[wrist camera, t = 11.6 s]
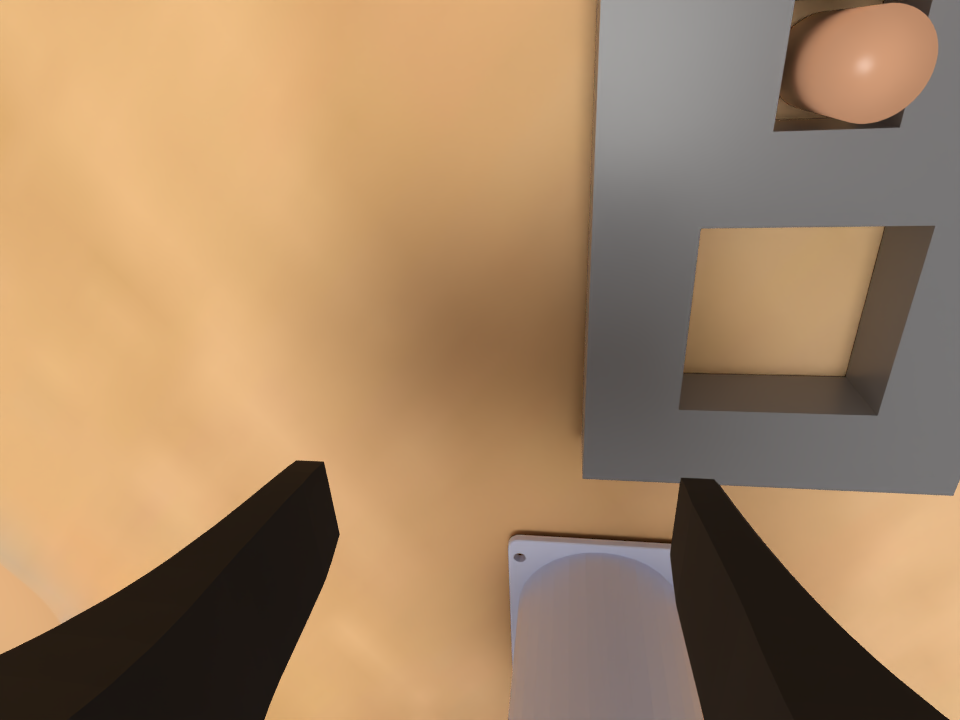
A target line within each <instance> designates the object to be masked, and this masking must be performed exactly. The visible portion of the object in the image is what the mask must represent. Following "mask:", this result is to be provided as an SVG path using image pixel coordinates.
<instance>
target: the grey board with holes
mask: <svg viewBox="0 0 960 720" xmlns="http://www.w3.org/2000/svg"><path fill="white" fill-rule="evenodd" d="M795 1H797V0H597V15H596V43H595V71H594V100H593V128H592V156H591V185H590V213H589V241H588V270H587V298H586V326H585V355H584V383H583V411H582V474H583V479H599V480H621V481H643V482H665V483H680V480H681V478H703V479H714V480H715V481H716V482H717V483H718V484H719V485H731V486H752V487H774V488H796V489H818V490H840V491H862V492H884V493H905V494H927V495H949V496H953V495H954V492H955V490H956V488H957V485H958V483H959V480H960V0H884V4H887V3H902V4H907V5H910V6H913V7H915V8H917V9H919V10H921V11H922V12H923V13H924V14H926V16H927V17H928V18H929V19H930V20H931V22H932V24H933V25H934V28H935V30H936V33H937V38H938V56H937V61H936V65H935V68H934V71H933V73H932V75H931V77H930V79H929V81H928V83H927V84H926V86H925V88H924V89H923V90H922V92H921V93H920V94H919V95H918V96H917V97H916V99H915V100H914V101H913V102H911V103H910V104H909V105H908V106H907V107H905V108H904V109H903V110H901V111H900V112H898V113H897V114H895V115H893V116H891V117H889V118H887V119H884V120H881V121H878V122H874V123H867V124H855V123H849V122H846V121H842V120H839V119H835V118H815V119H787V120H775V118H776V112H777V106H778V100H779V94H780V88H781V82H782V76H783V70H784V64H785V58H786V51H787V45H788V39H789V33H790V27H791V21H792V15H793V9H794V3H795ZM860 226H885V230H884V234H883V238H882V241H881V245H880V249H879V253H878V256H877V260H876V264H875V268H874V271H873V275H872V279H871V283H870V287H869V290H868V294H867V298H866V302H865V305H864V309H863V313H862V317H861V320H860V324H859V328H858V332H857V335H856V339H855V343H854V347H853V351H852V354H851V358H850V362H849V366H848V369H847V373H846V377H834V376H786V375H738V374H690V373H683V370H684V361H685V353H686V345H687V337H688V329H689V321H690V312H691V304H692V296H693V288H694V280H695V271H696V263H697V255H698V247H699V239H700V231H701V228H776V227H860Z"/></svg>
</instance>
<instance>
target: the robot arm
mask: <svg viewBox="0 0 960 720" xmlns="http://www.w3.org/2000/svg"><path fill="white" fill-rule="evenodd" d="M339 535H340V534H339V529H338V525H337V520H336V515H335V511H334V506H333V502H332V497H331V492H330V488H329V483H328V479H327V474H326V469H325V465H324V462H319V461H297V460H296V461H295V462H294V463H292V464H291V465H290V466H288V467H287V468H286V469H284V470H283V471H282V472H281V473H279V474H278V475H277V476H276V477H274V478H273V479H272V480H271V481H270V482H268V483H267V484H266V485H265V486H263V487H262V488H261V489H260V490H259V491H257V492H256V493H255V494H254V495H252V496H251V497H250V498H249V499H247V500H246V501H245V502H244V503H242V504H241V505H240V506H239V507H237V508H236V509H235V510H234V511H232V512H231V513H230V514H229V515H227V516H226V517H225V518H224V519H222V520H221V521H220V522H219V523H217V524H216V525H215V526H213V527H212V528H211V529H209V530H208V531H207V532H205V533H204V534H203V535H201V536H200V537H198V538H197V539H196V540H194V541H193V542H192V543H190V544H189V545H188V546H186V547H185V548H184V549H182V550H181V551H179V552H178V553H177V554H175V555H174V556H173V557H171V558H170V559H168V560H167V561H165V562H164V563H163V564H161V565H160V566H158V567H157V568H155V569H154V570H152V571H151V572H149V573H148V574H146V575H144V576H143V577H141V578H140V579H138V580H136V581H135V582H133V583H132V584H130V585H129V586H127V587H125V588H124V589H122V590H121V591H119V592H117V593H116V594H114V595H112V596H111V597H109V598H107V599H105V600H104V601H102V602H100V603H98V604H96V605H95V606H93V607H91V608H89V609H87V610H86V611H84V612H82V613H80V614H78V615H77V616H75V617H73V618H71V619H69V620H68V621H66V622H64V623H62V624H60V625H59V626H57V627H55V628H54V629H51V630H49V631H47V632H45V633H43V634H41V635H40V636H38V637H35V638H33V639H32V640H29V641H28V642H25V643H23V644H21V645H19V646H18V647H16V648H13V649H11V650H9V651H7V652H5V653H3V654H0V720H264V719H265V716H266V714H267V711H268V708H269V705H270V703H271V700H272V698H273V695H274V693H275V690H276V688H277V686H278V683H279V681H280V679H281V676H282V674H283V672H284V670H285V668H286V666H287V663H288V661H289V659H290V657H291V655H292V653H293V650H294V648H295V646H296V644H297V642H298V640H299V637H300V635H301V633H302V631H303V629H304V627H305V624H306V622H307V620H308V618H309V616H310V614H311V611H312V609H313V607H314V605H315V602H316V600H317V598H318V596H319V594H320V591H321V589H322V587H323V585H324V582H325V580H326V577H327V574H328V571H329V568H330V565H331V562H332V559H333V555H334V552H335V548H336V545H337V542H338V538H339ZM517 553H521V554H523V555H517ZM508 560H509V588H510V615H511V642H512V669H513V670H512V681H511V692H510V702H509V713H508V720H703V717H704V720H949V719H948V718H946V717H945V716H944V715H943V714H941V713H940V712H939V711H938V710H936V709H935V708H934V707H933V706H932V705H930V704H929V703H928V702H927V701H925V700H924V699H923V698H922V697H920V696H919V695H918V694H917V693H916V692H914V691H913V690H912V689H911V688H909V687H908V686H907V685H906V684H904V683H903V682H902V681H901V680H900V679H898V678H897V677H896V676H895V675H894V674H892V673H891V672H890V671H889V670H888V669H887V668H886V667H884V666H883V665H882V664H881V663H880V662H879V661H877V660H876V659H875V658H874V657H873V656H872V655H871V654H870V653H869V652H868V651H866V650H865V649H864V648H863V647H862V646H861V645H860V644H859V643H858V642H857V641H856V640H855V639H854V638H852V637H851V636H850V635H849V634H848V633H847V632H846V631H845V630H844V629H843V628H842V627H841V626H840V625H839V624H838V623H837V622H836V621H835V620H834V619H833V618H832V617H831V616H830V615H829V614H828V613H827V612H826V611H825V610H824V609H823V608H822V607H821V606H820V605H819V604H818V603H817V602H816V601H815V600H814V598H813V597H812V596H811V595H810V594H809V593H808V592H807V591H806V590H805V589H804V588H803V587H802V586H801V585H800V584H799V582H798V581H797V580H796V579H795V578H794V577H793V576H792V575H791V573H790V572H789V571H788V570H787V569H786V568H785V567H784V565H783V564H782V563H781V562H780V561H779V560H778V558H777V557H776V556H775V555H774V554H773V553H772V551H771V550H770V549H769V548H768V547H767V546H766V544H765V543H764V542H763V541H762V539H761V538H760V537H759V536H758V535H757V533H756V532H755V531H754V530H753V528H752V527H751V526H750V524H749V523H748V522H747V521H746V519H745V518H744V517H743V516H742V514H741V513H740V512H739V510H738V509H737V508H736V506H735V505H734V504H733V502H732V501H731V500H730V498H729V497H728V496H727V494H726V493H725V492H724V490H723V489H722V488H721V486H720V485H719V484H718V483H717V482H716V481H715V480H714V479H703V478H681V480H680V487H679V494H678V501H677V508H676V515H675V522H674V529H673V536H672V543H671V544H667V543H650V542H634V541H617V540H600V539H583V538H566V537H550V536H533V535H515V536H512V537H511V538H510V539H509V544H508ZM701 709H702V710H701ZM702 713H703V715H702Z"/></svg>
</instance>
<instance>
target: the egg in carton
mask: <svg viewBox="0 0 960 720" xmlns="http://www.w3.org/2000/svg"><path fill="white" fill-rule="evenodd" d="M937 56H938V38H937V33H936V30H935V28H934V25H933V24H932V22H931V20H930V19H929V18H928V17H927V16H926V14H924V13H923V12H922V11H921V10H919V9H917V8H915V7H913V6H910V5H907V4H902V3H887V4H879V5H871V6H863V7H855V8H848V9H840V10H832V11H824V12H819V13H816V14H813V15H811V16H808V17H807V18H805V19H803V20H802V21H800V22H799V23H797V24H796V25H795V26H794V27H793V28H792V29H791V30H790V33H789V39H788V45H787V51H786V58H785V64H784V70H783V76H782V82H781V88H780V94H779V96H780V97H781V98H782V99H783V100H784V101H785V102H786V103H788V104H789V105H791V106H793V107H796V108H800V109H803V110H807V111H810V112H814V113H817V114H821V115H824V116H828V117H831V118H835V119H839V120H842V121H846V122H849V123H855V124H867V123H874V122H878V121H881V120H884V119H887V118H889V117H891V116H893V115H895V114H897V113H898V112H900V111H901V110H903V109H904V108H905V107H907V106H908V105H909V104H910V103H911V102H913V101H914V100H915V99H916V97H917V96H918V95H919V94H920V93H921V92H922V90H923V89H924V88H925V86H926V84H927V83H928V81H929V79H930V77H931V75H932V73H933V71H934V68H935V65H936V61H937Z"/></svg>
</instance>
